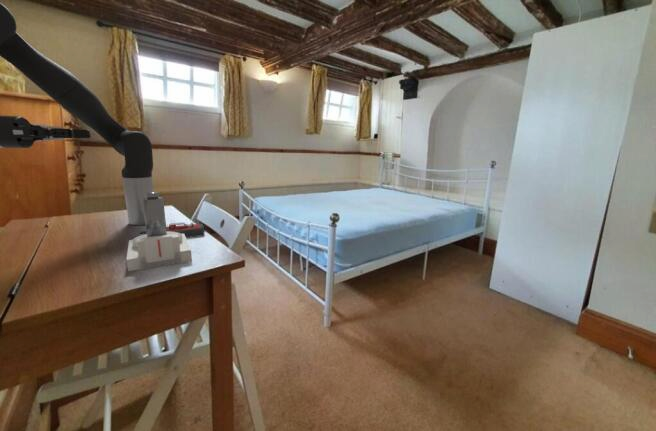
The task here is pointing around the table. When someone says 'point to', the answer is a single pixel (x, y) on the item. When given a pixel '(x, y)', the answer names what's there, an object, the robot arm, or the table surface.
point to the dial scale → (157, 251)
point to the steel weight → (154, 215)
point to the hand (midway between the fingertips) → (81, 133)
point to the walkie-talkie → (184, 229)
